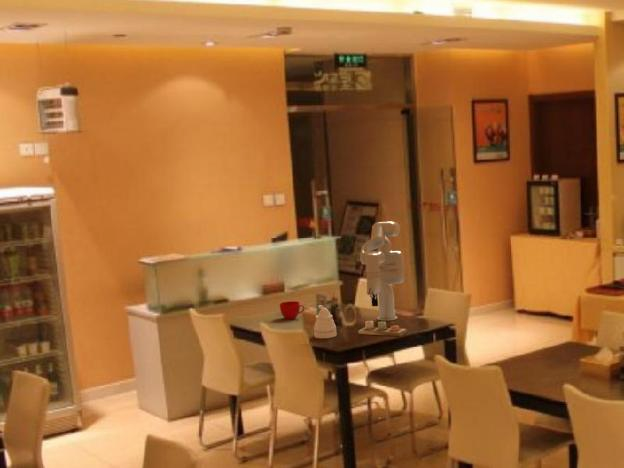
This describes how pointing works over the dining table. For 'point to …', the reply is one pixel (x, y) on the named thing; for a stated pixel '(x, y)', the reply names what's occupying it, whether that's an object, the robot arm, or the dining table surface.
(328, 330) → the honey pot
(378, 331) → the wooden panel frame
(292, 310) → the ceramic cup
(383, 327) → the button two
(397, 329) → the button three
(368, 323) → the button one
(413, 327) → the dining table surface
